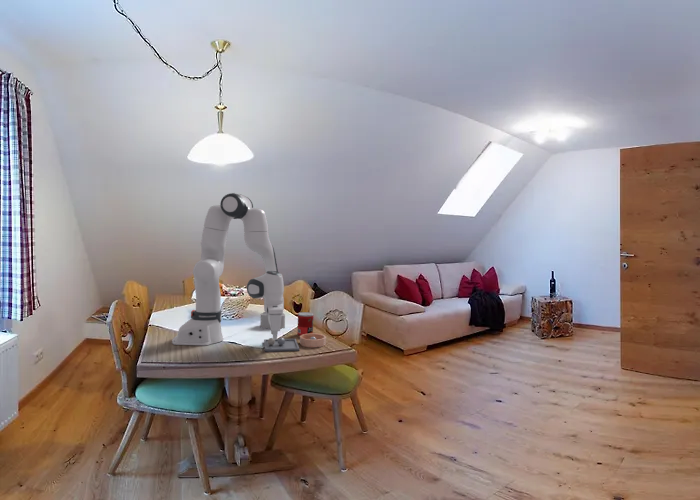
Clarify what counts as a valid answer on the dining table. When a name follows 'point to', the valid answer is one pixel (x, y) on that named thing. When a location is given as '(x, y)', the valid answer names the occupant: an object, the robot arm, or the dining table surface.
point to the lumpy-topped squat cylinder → (265, 322)
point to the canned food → (305, 323)
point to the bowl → (307, 342)
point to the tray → (281, 346)
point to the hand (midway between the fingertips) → (274, 336)
